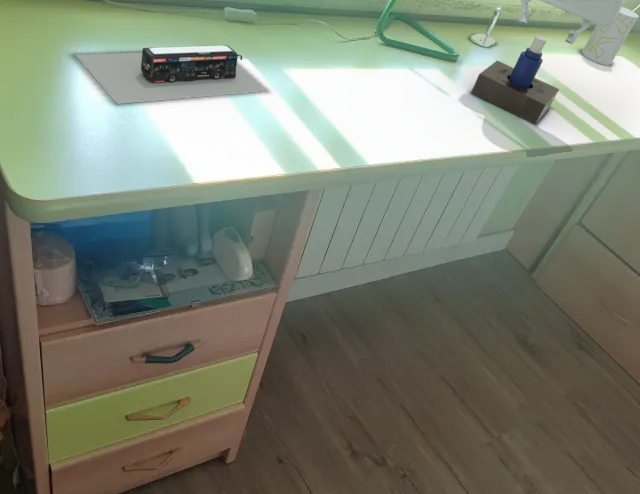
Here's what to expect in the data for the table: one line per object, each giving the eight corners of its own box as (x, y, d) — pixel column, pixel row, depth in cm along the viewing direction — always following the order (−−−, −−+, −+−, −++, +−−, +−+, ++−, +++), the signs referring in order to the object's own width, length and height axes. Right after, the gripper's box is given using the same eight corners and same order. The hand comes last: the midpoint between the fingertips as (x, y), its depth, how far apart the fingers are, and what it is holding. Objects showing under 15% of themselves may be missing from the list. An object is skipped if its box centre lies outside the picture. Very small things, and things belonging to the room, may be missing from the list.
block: (549, 107, 125) (559, 89, 122) (535, 124, 117) (545, 105, 114) (488, 78, 128) (497, 60, 125) (470, 93, 120) (479, 73, 117)
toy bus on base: (265, 91, 98) (270, 65, 95) (117, 103, 84) (117, 74, 81) (220, 49, 105) (223, 24, 102) (75, 55, 91) (74, 26, 88)
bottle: (523, 102, 123) (554, 40, 115) (517, 108, 120) (549, 45, 112) (503, 92, 124) (533, 31, 116) (497, 98, 121) (527, 35, 113)
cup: (577, 52, 159) (603, 4, 150) (588, 49, 164) (614, 2, 156) (604, 66, 156) (632, 18, 148) (615, 62, 161) (642, 16, 153)
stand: (467, 39, 143) (480, 34, 149) (485, 48, 142) (497, 42, 147) (481, 5, 138) (493, 1, 144) (500, 14, 137) (512, 10, 142)
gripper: (525, -71, 104) (490, 13, 113) (639, -26, 99) (593, 57, 109) (534, -73, 108) (500, 8, 118) (643, -31, 104) (599, 50, 113)
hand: (545, 32), depth 113 cm, fingers open, 8 cm apart
